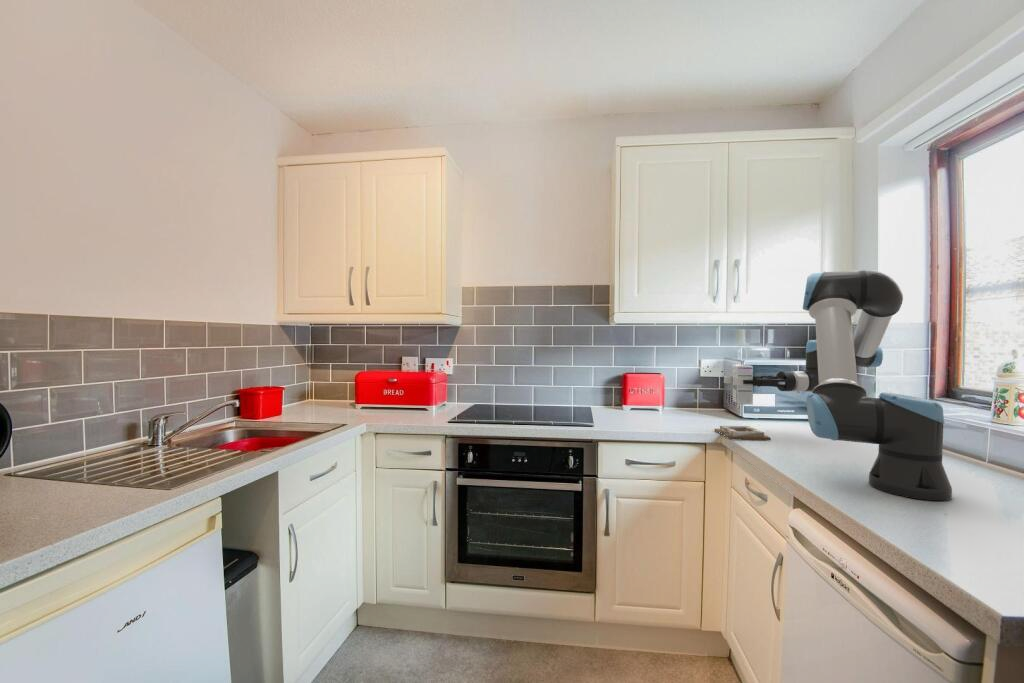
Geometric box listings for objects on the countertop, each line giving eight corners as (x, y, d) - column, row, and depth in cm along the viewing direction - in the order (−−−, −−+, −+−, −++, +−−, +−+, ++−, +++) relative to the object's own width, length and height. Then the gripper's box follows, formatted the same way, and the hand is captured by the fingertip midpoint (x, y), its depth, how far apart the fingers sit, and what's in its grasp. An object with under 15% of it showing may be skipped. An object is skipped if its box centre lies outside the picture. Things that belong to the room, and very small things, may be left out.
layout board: (770, 440, 156) (770, 433, 156) (731, 439, 157) (731, 433, 157) (750, 431, 170) (750, 425, 170) (714, 431, 171) (714, 424, 171)
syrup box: (753, 404, 160) (754, 365, 160) (736, 404, 161) (736, 365, 161) (748, 402, 166) (748, 364, 165) (731, 401, 167) (732, 364, 166)
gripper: (807, 394, 153) (741, 394, 154) (775, 388, 173) (717, 387, 173) (808, 373, 153) (742, 372, 154) (776, 369, 172) (717, 368, 173)
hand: (729, 380), depth 163 cm, fingers closed on syrup box, 6 cm apart
